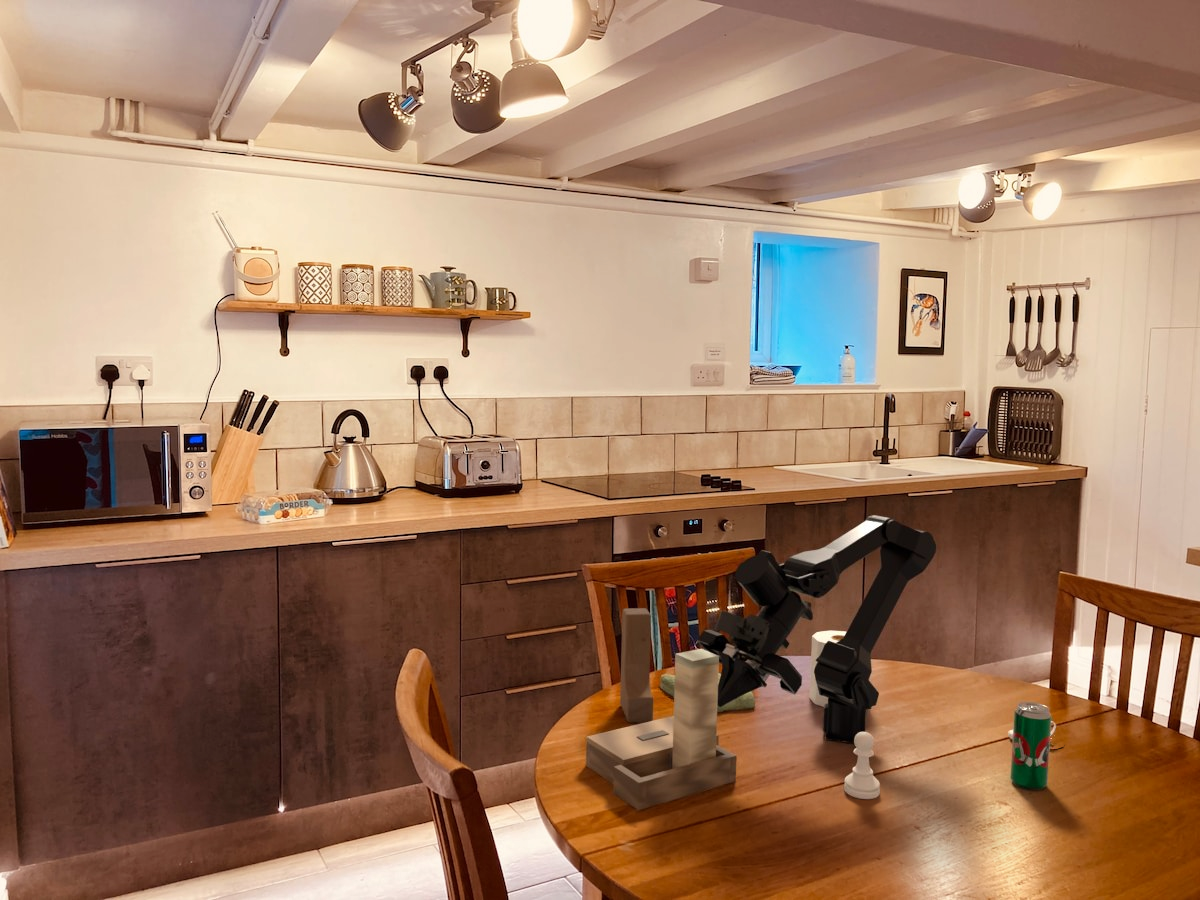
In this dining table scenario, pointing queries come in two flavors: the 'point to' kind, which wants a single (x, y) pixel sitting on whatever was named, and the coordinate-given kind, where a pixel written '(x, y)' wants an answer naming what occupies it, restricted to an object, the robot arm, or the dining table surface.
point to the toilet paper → (817, 647)
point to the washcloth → (738, 703)
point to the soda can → (1031, 746)
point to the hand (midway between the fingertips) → (716, 704)
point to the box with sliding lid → (653, 764)
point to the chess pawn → (862, 770)
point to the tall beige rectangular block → (695, 707)
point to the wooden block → (636, 666)
